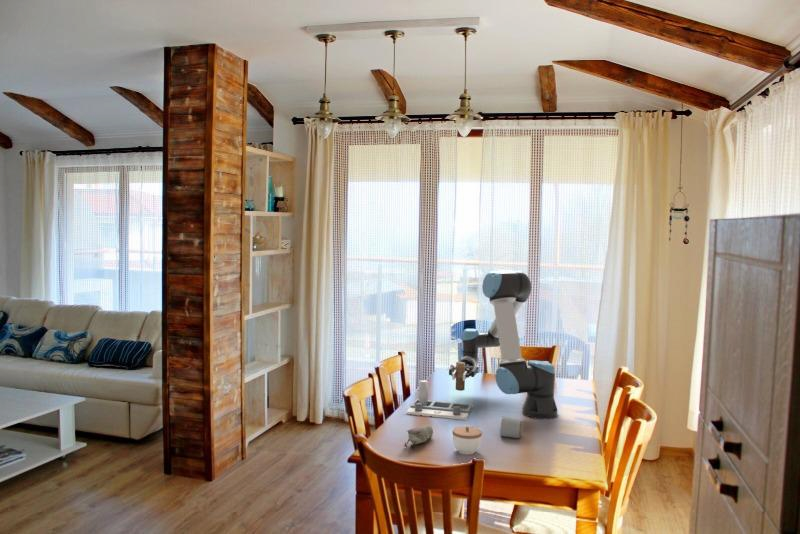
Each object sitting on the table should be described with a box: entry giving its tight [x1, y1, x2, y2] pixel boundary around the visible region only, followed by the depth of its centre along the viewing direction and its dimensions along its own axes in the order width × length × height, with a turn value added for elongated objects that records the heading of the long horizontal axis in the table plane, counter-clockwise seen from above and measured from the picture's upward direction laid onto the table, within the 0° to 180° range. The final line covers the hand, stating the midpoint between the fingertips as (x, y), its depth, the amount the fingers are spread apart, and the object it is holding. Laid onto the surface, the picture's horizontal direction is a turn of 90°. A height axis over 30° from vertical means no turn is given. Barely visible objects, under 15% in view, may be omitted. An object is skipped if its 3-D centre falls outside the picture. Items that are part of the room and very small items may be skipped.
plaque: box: [406, 403, 469, 421], centre depth 261 cm, size 26×6×4 cm, turn 75°
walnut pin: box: [455, 361, 466, 392], centre depth 267 cm, size 4×4×12 cm
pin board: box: [409, 379, 473, 415], centre depth 269 cm, size 26×11×12 cm, turn 75°
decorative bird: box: [403, 424, 434, 451], centre depth 226 cm, size 5×16×7 cm, turn 145°
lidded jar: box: [452, 425, 483, 456], centre depth 218 cm, size 11×11×9 cm
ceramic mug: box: [499, 416, 524, 439], centre depth 236 cm, size 11×8×8 cm
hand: (458, 377), depth 262 cm, fingers closed on walnut pin, 4 cm apart
